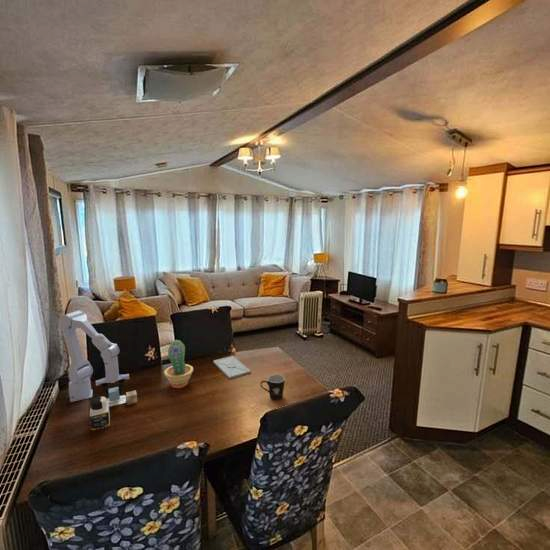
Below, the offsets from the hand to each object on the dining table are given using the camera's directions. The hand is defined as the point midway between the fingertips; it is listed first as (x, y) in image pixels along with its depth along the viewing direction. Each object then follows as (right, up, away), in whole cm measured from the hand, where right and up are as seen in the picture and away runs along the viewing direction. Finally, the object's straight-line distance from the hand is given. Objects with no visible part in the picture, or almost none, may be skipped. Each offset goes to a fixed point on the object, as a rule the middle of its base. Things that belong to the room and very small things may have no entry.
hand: (114, 395), depth 158 cm
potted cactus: (+27, -1, +18) cm, 32 cm away
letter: (0, -3, +1) cm, 3 cm away
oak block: (+9, -3, 0) cm, 9 cm away
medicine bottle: (+3, -7, -17) cm, 18 cm away
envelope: (+53, +2, +37) cm, 65 cm away
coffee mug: (+79, -3, +6) cm, 79 cm away
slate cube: (0, -2, 0) cm, 2 cm away
